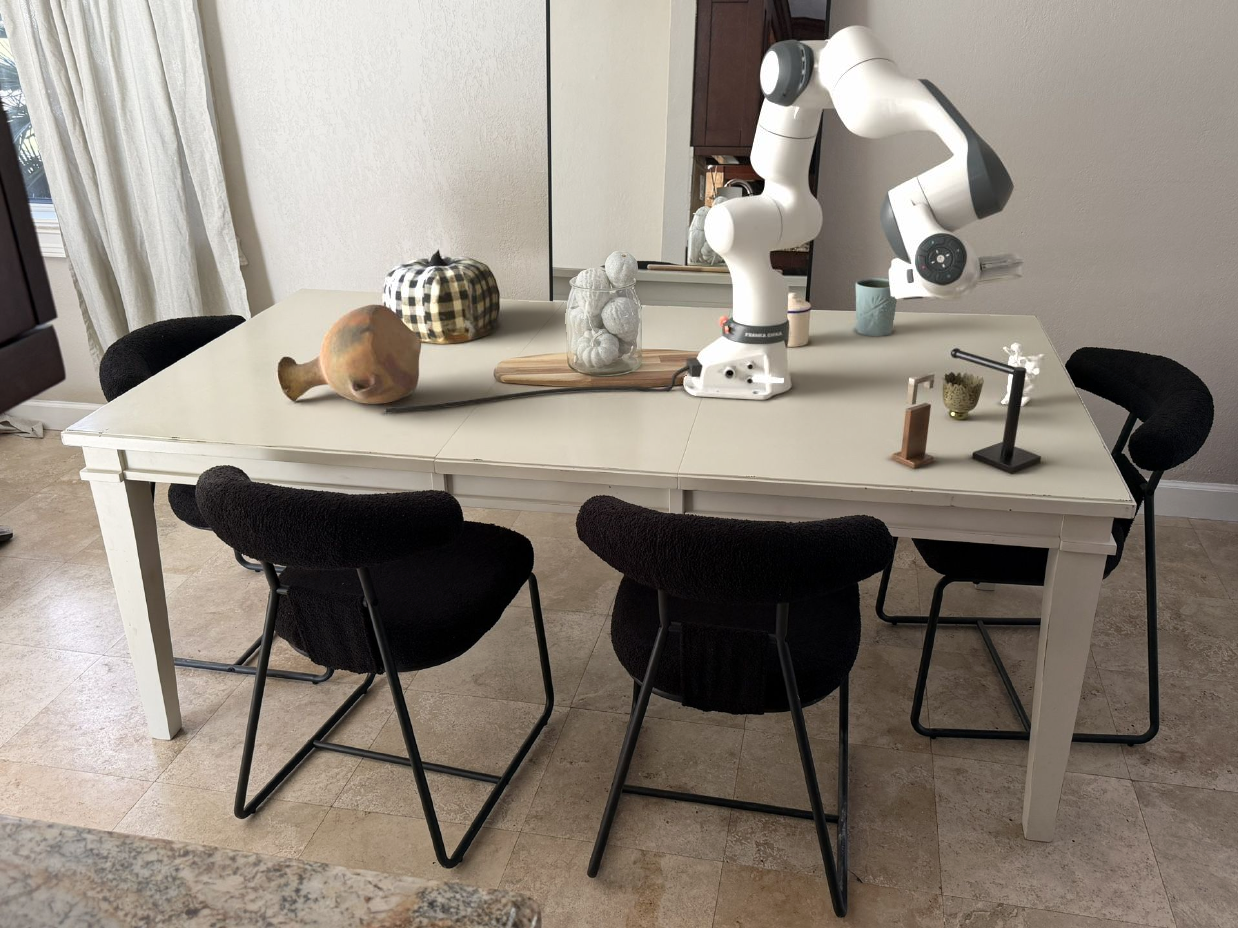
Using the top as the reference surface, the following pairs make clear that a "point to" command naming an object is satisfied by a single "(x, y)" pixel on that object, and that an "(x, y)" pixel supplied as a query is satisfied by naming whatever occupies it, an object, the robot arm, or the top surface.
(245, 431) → the top surface
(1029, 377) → the white figurine
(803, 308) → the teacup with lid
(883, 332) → the teal embossed pot
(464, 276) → the decorative pumpkin
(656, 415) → the top surface
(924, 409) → the hanger
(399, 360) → the jug
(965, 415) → the cup
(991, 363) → the stand
